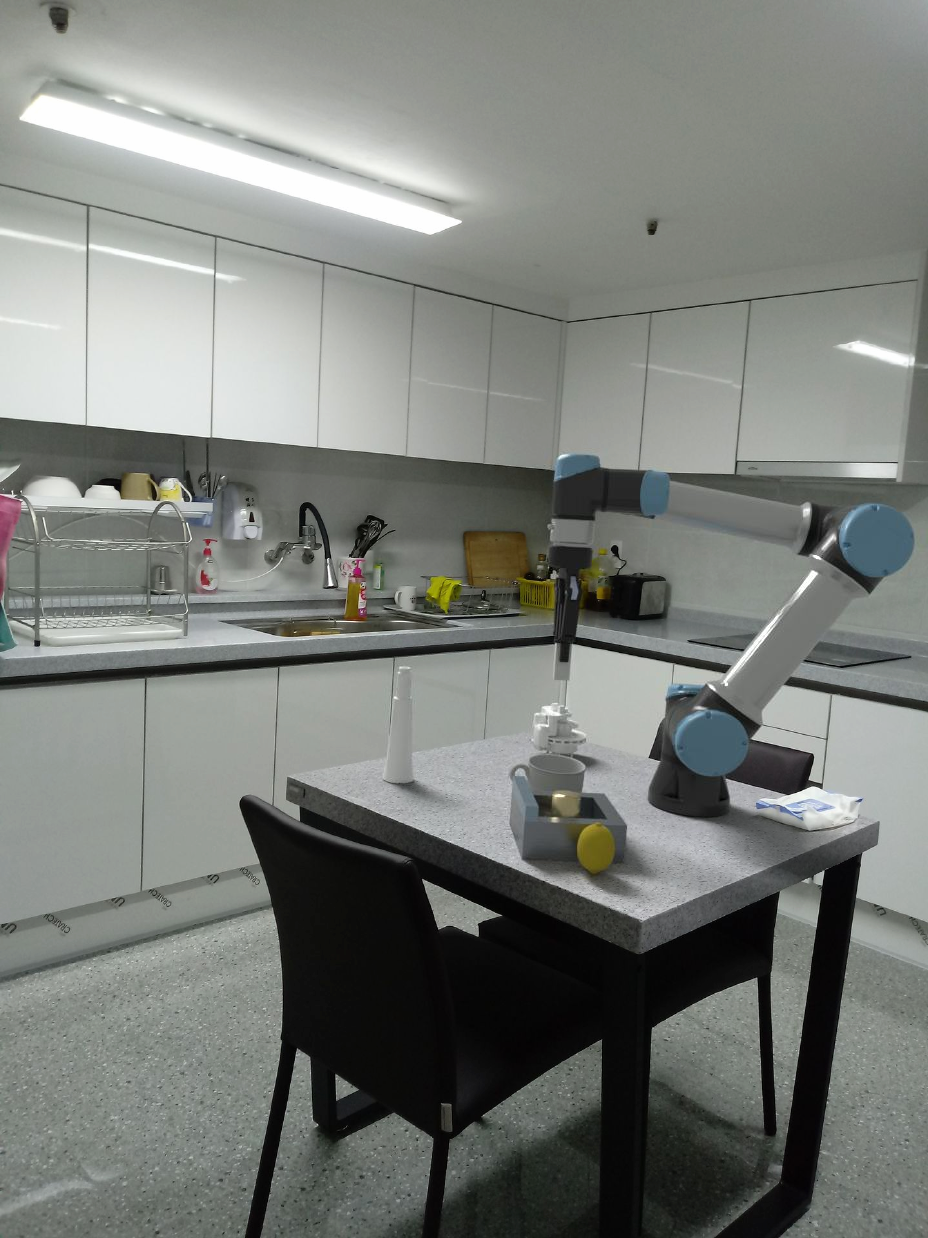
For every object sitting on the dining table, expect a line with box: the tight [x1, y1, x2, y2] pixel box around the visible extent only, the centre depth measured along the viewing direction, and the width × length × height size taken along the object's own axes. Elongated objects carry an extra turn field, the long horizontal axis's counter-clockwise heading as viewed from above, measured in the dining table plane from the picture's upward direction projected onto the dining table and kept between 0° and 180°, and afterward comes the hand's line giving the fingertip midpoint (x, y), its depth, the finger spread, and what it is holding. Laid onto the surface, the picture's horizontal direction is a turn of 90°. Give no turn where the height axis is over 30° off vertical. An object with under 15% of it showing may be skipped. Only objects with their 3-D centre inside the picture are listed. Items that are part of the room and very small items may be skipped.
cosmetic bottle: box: [382, 666, 415, 784], centre depth 179 cm, size 6×6×22 cm
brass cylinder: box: [551, 790, 581, 818], centre depth 151 cm, size 5×5×8 cm
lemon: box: [577, 822, 615, 875], centre depth 138 cm, size 6×6×8 cm
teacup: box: [508, 753, 587, 793], centre depth 171 cm, size 14×11×8 cm
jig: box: [508, 775, 628, 864], centre depth 151 cm, size 16×16×8 cm
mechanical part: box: [530, 702, 587, 758], centre depth 204 cm, size 11×12×12 cm
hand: (560, 679), depth 163 cm, fingers closed
